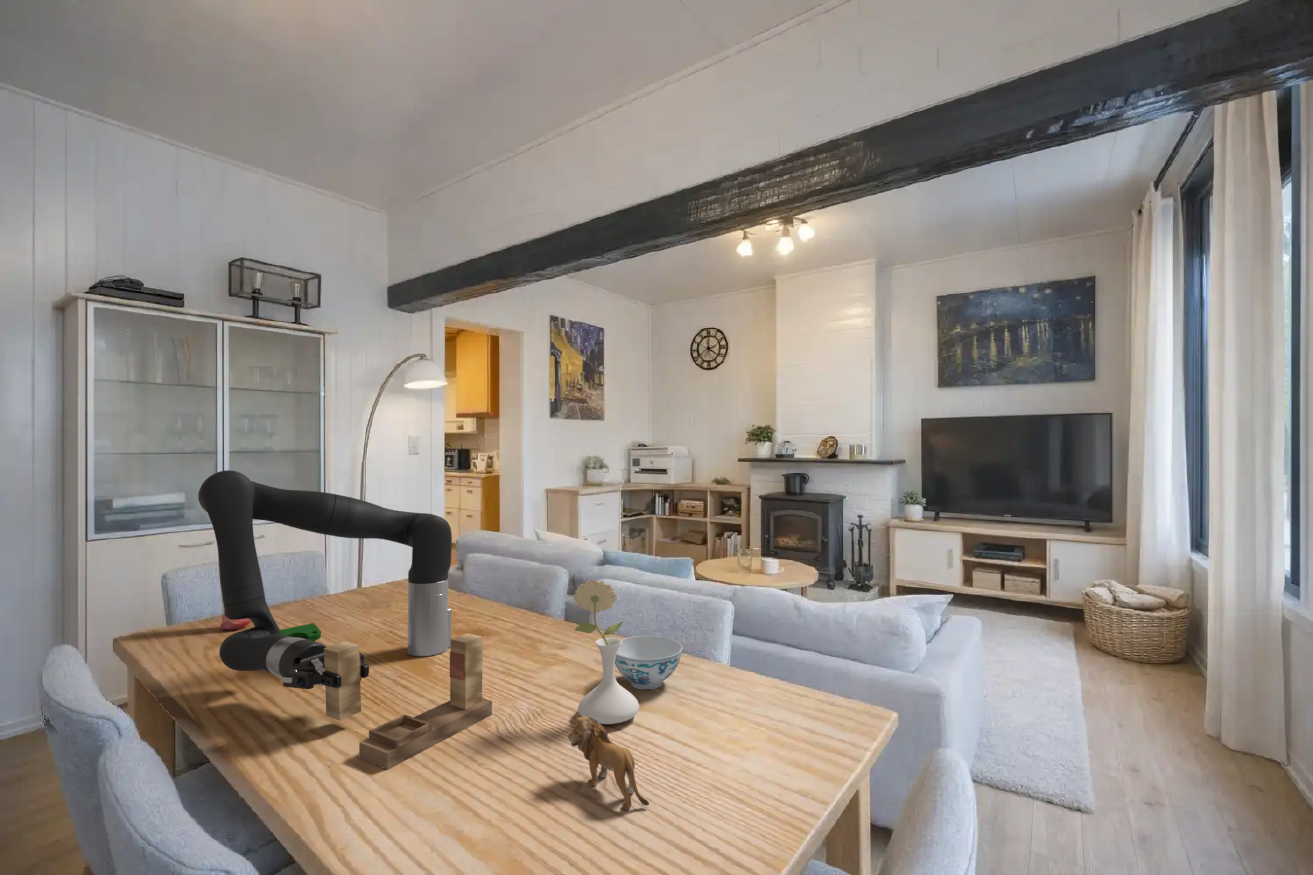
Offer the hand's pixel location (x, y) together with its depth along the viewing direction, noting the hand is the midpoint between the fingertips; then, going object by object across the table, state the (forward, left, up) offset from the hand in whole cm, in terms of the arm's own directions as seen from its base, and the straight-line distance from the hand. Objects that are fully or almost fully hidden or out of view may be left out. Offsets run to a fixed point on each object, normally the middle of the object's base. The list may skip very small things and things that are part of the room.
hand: (353, 676), depth 106 cm
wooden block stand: (-6, +13, -9) cm, 17 cm away
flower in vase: (-27, +35, -10) cm, 45 cm away
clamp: (-17, -49, -10) cm, 53 cm away
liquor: (-21, -84, -10) cm, 87 cm away
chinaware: (-44, +34, -10) cm, 56 cm away
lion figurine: (-7, +49, -10) cm, 50 cm away
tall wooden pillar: (0, -3, -7) cm, 7 cm away
